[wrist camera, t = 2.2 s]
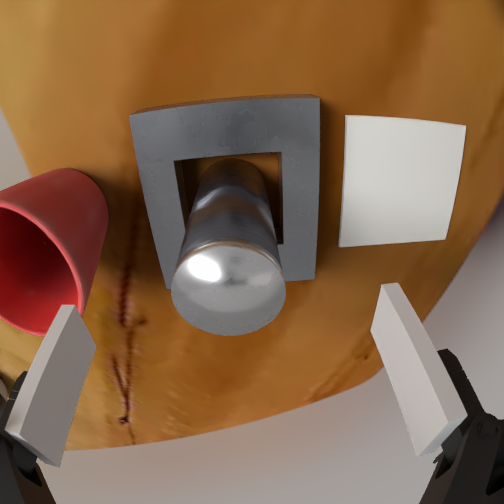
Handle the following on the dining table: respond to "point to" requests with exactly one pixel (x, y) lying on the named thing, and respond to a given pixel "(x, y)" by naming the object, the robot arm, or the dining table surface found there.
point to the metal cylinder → (229, 254)
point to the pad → (398, 179)
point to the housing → (230, 143)
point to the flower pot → (49, 246)
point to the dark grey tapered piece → (2, 397)
